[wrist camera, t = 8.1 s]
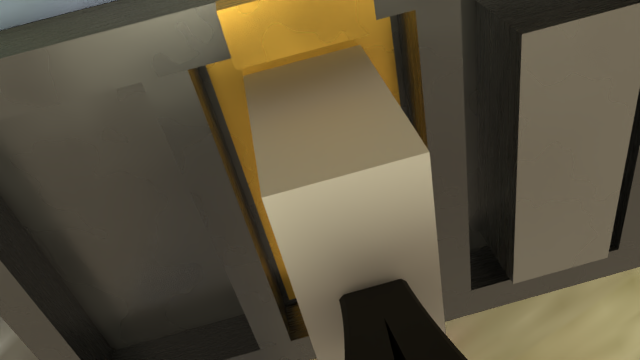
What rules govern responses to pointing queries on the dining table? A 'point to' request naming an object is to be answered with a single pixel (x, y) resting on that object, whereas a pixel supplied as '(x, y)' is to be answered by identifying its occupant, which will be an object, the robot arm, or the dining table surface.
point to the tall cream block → (343, 187)
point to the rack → (241, 170)
